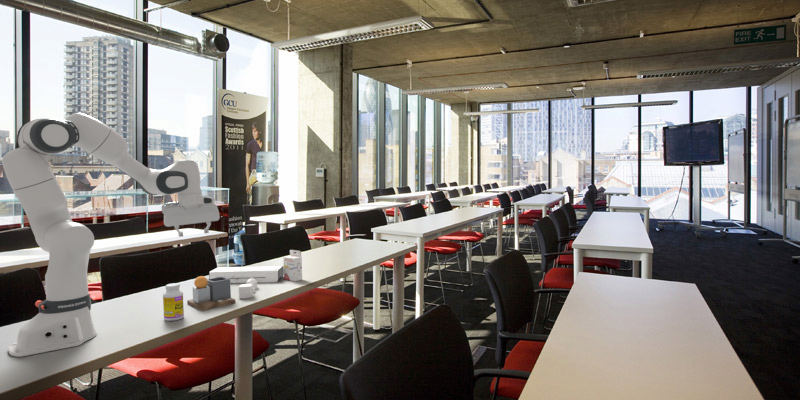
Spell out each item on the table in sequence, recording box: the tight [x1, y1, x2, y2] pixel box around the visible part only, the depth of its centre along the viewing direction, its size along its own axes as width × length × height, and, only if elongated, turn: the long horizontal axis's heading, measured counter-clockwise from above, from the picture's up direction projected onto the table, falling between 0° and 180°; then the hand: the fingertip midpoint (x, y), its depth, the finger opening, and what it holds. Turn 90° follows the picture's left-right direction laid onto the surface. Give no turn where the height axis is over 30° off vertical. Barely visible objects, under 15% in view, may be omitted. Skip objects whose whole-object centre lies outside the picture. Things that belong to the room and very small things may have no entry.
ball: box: [193, 275, 208, 288], centre depth 184 cm, size 5×5×5 cm
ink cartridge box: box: [283, 249, 303, 282], centre depth 226 cm, size 9×5×15 cm, turn 58°
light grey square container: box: [192, 286, 211, 304], centre depth 184 cm, size 5×5×6 cm
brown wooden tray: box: [186, 297, 236, 312], centre depth 186 cm, size 14×14×2 cm
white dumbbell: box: [238, 278, 259, 299], centre depth 203 cm, size 20×5×6 cm, turn 9°
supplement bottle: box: [162, 282, 185, 322], centre depth 167 cm, size 7×7×13 cm
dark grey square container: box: [206, 277, 232, 302], centre depth 189 cm, size 7×7×8 cm
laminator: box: [208, 265, 284, 284], centre depth 228 cm, size 34×12×6 cm, turn 92°
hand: (193, 234), depth 180 cm, fingers open, 8 cm apart
